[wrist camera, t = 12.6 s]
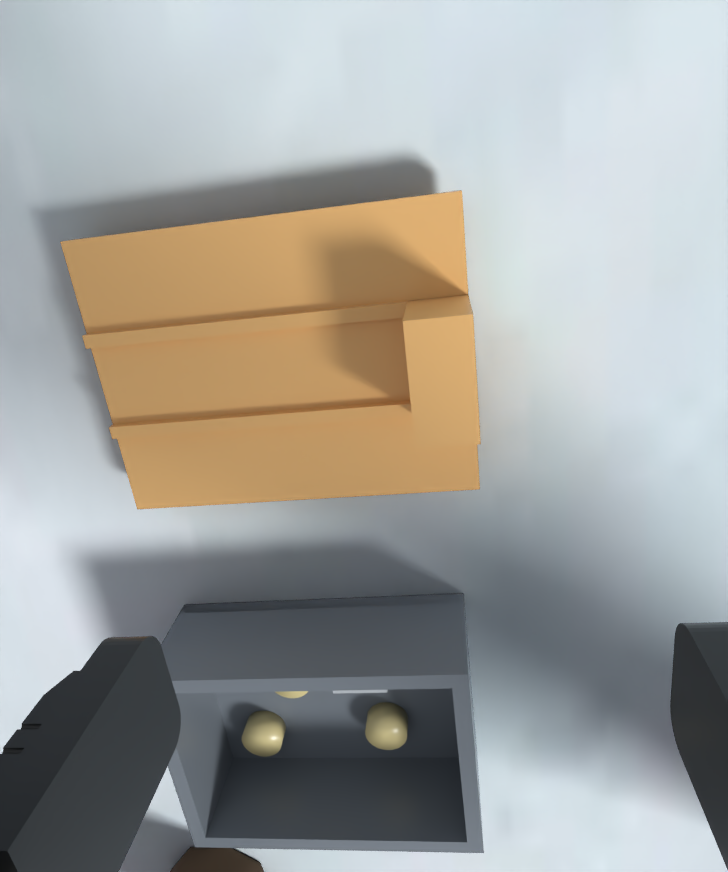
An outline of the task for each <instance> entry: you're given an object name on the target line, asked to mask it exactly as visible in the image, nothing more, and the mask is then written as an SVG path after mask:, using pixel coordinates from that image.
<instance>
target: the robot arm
mask: <svg viewBox="0 0 728 872" xmlns="http://www.w3.org/2000/svg"><path fill="white" fill-rule="evenodd" d="M670 708H671V720H672V726H673V732H674V736H675V740H676V744H677V747H678V750H679V752H680V755H681V757H682V760H683V762H684V765H685V767H686V770H687V772H688V774H689V777H690V779H691V782H692V784H693V787H694V789H695V791H696V794H697V796H698V799H699V801H700V804H701V806H702V808H703V811H704V813H705V816H706V818H707V821H708V823H709V825H710V828H711V830H712V833H713V835H714V838H715V840H716V843H717V845H718V847H719V850H720V852H721V855H722V857H723V860H724V862H725V864H726V867H727V869H728V622H713V623H680V624H679V625H678V626H677V628H676V632H675V643H674V658H673V673H672V688H671V704H670ZM180 727H181V713H180V707H179V703H178V700H177V696H176V693H175V690H174V687H173V683H172V680H171V677H170V673H169V670H168V667H167V664H166V660H165V657H164V654H163V650H162V647H161V645H160V643H159V641H158V640H157V639H156V638H155V637H152V636H145V637H111V638H107V639H105V640H104V641H103V642H102V643H101V644H100V645H99V646H98V648H97V649H96V650H95V652H94V653H93V655H92V656H91V657H90V659H89V660H88V661H87V663H86V664H85V666H84V667H83V668H82V670H81V671H73V672H72V673H71V674H69V675H68V676H67V677H66V678H64V679H63V680H62V681H61V682H59V683H58V684H57V685H56V686H54V687H53V688H52V689H51V690H50V691H48V692H47V693H46V694H45V695H43V697H42V698H41V699H40V701H39V702H38V703H37V704H36V706H35V707H34V708H33V710H32V711H31V712H30V714H29V715H28V716H27V718H26V719H25V720H24V721H23V723H22V728H21V730H17V731H16V732H15V733H14V734H13V736H12V737H11V738H10V740H9V741H8V742H7V744H6V745H5V746H4V748H3V749H4V750H3V753H2V754H0V872H118V871H119V869H120V867H121V865H122V863H123V861H124V859H125V856H126V854H127V852H128V850H129V848H130V846H131V844H132V841H133V839H134V837H135V835H136V833H137V831H138V828H139V826H140V824H141V822H142V820H143V818H144V816H145V813H146V811H147V809H148V807H149V805H150V803H151V800H152V798H153V796H154V794H155V792H156V790H157V788H158V785H159V783H160V781H161V779H162V777H163V775H164V773H165V770H166V768H167V766H168V764H169V762H170V760H171V757H172V755H173V753H174V751H175V749H176V746H177V743H178V739H179V734H180Z"/></svg>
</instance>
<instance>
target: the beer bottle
mask: <svg viewBox="0 0 728 872" xmlns="http://www.w3.org/2000/svg"><path fill="white" fill-rule="evenodd" d="M170 872H264V870H263V868H262V866H261V863H260V862H258V861H256V860H254V859H252V858H250V857H248V856H246V855H244V854H242V853H240V852H239V851H237V850H235V849H233V848H209V847H190V848H189V849H188V850H187V852H186V853H185V854H184V855H183V856H182V858H181V859H180V860H179V861H178V862H177V864H176V865H175V866H174V867H173V868H172V870H171V871H170Z"/></svg>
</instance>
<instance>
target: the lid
mask: <svg viewBox="0 0 728 872" xmlns="http://www.w3.org/2000/svg"><path fill="white" fill-rule="evenodd" d="M60 243H61V246H62V250H63V253H64V257H65V260H66V264H67V267H68V270H69V274H70V277H71V281H72V284H73V288H74V291H75V295H76V298H77V302H78V305H79V309H80V312H81V316H82V319H83V322H84V326H85V329H86V333H87V334H85V335H83V336H82V337H83V340H84V344H85V347H86V349H90V348H91V350H92V354H93V357H94V361H95V364H96V368H97V371H98V374H99V378H100V381H101V385H102V388H103V392H104V395H105V399H106V402H107V406H108V409H109V413H110V416H111V420H112V423H113V425H111V426H110V427H109V430H110V433H111V436H112V439H117V440H118V444H119V447H120V451H121V454H122V458H123V461H124V465H125V468H126V472H127V475H128V478H129V482H130V485H131V489H132V492H133V496H134V499H135V503H136V506H137V509H150V508H168V507H185V506H202V505H219V504H236V503H253V502H270V501H287V500H305V499H322V498H339V497H356V496H373V495H390V494H407V493H424V492H441V491H459V490H476V489H480V483H479V467H478V450H477V444H481V443H480V426H479V408H478V391H477V374H476V357H475V339H474V322H473V312H472V308H471V304H470V300H469V296H468V284H467V267H466V251H465V234H464V218H463V201H462V191H461V190H459V191H451V192H443V193H435V194H427V195H419V196H412V197H404V198H396V199H388V200H380V201H372V202H364V203H356V204H349V205H341V206H333V207H325V208H317V209H309V210H301V211H294V212H286V213H278V214H270V215H262V216H254V217H246V218H238V219H231V220H223V221H215V222H207V223H199V224H191V225H183V226H176V227H168V228H160V229H152V230H144V231H136V232H128V233H120V234H113V235H105V236H97V237H89V238H81V239H73V240H68V241H62V242H60Z"/></svg>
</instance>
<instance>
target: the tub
mask: <svg viewBox="0 0 728 872" xmlns="http://www.w3.org/2000/svg"><path fill="white" fill-rule="evenodd" d="M161 647H162V650H163V654H164V657H165V660H166V664H167V667H168V670H169V673H170V677H171V680H172V683H173V687H174V690H175V693H176V696H177V700H178V703H179V707H180V713H181V727H180V734H179V739H178V743H177V746H176V749H175V751H174V753H173V755H172V757H171V760H170V762H169V764H168V768H169V771H170V774H171V777H172V780H173V783H174V786H175V789H176V792H177V795H178V798H179V801H180V804H181V807H182V810H183V813H184V816H185V819H186V822H187V825H188V828H189V831H190V834H191V837H192V840H193V843H194V846H195V847H209V848H259V849H309V850H359V851H408V852H458V853H484V850H483V836H482V821H481V806H480V791H479V776H478V761H477V748H476V736H475V724H474V712H473V700H472V688H471V677H470V665H469V653H468V641H467V629H466V617H465V605H464V594H440V595H415V596H390V597H365V598H340V599H316V600H291V601H266V602H241V603H216V604H191V605H184V607H183V608H182V610H181V612H180V613H179V615H178V617H177V619H176V620H175V622H174V624H173V625H172V627H171V629H170V630H169V632H168V634H167V636H166V637H165V639H164V641H163V642H162V644H161Z"/></svg>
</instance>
